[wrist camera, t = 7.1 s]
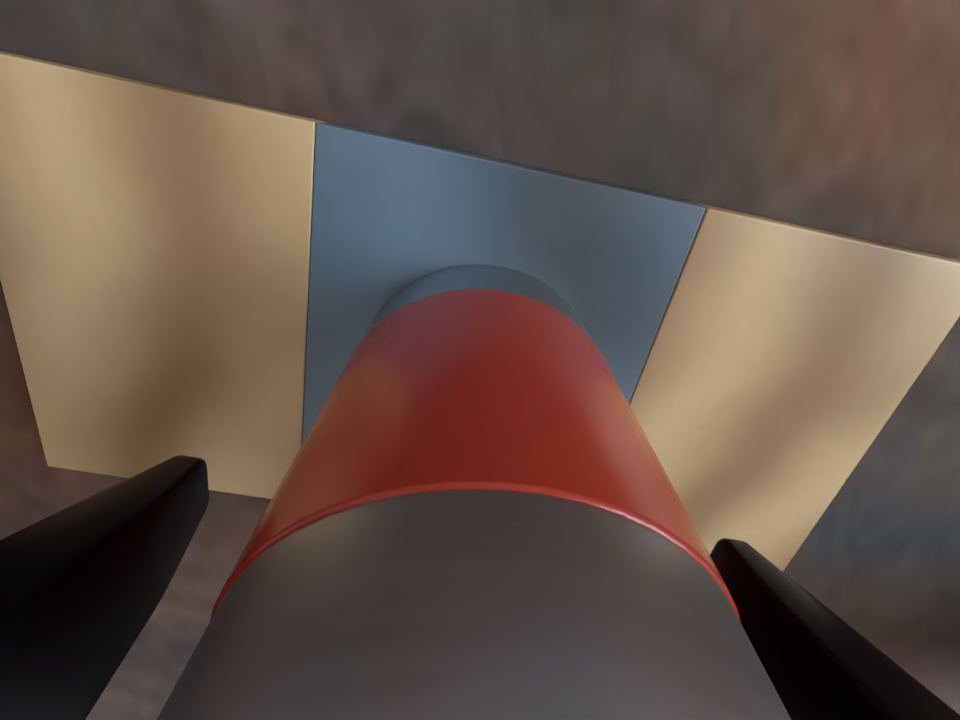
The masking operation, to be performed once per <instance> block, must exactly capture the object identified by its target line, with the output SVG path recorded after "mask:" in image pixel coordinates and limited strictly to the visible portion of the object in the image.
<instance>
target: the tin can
mask: <svg viewBox="0 0 960 720" xmlns="http://www.w3.org/2000/svg"><path fill="white" fill-rule="evenodd" d="M157 720H791V718H790V716H789V714H788V712H787V711H786V709H785V707H784V705H783V703H782V701H781V699H780V697H779V695H778V693H777V692H776V690H775V688H774V686H773V684H772V682H771V680H770V678H769V676H768V674H767V672H766V671H765V669H764V667H763V665H762V663H761V661H760V659H759V657H758V655H757V653H756V652H755V650H754V648H753V646H752V644H751V642H750V640H749V638H748V636H747V634H746V632H745V631H744V629H743V627H742V625H741V621H740V617H739V613H738V609H737V606H736V604H735V602H734V600H733V598H732V596H731V594H730V592H729V590H728V588H727V586H726V584H725V582H724V580H723V579H722V577H721V575H720V573H719V571H718V569H717V567H716V566H715V564H714V562H713V560H712V558H711V556H710V554H709V552H708V551H707V549H706V547H705V545H704V543H703V541H702V539H701V538H700V536H699V534H698V532H697V530H696V528H695V526H694V525H693V523H692V521H691V519H690V517H689V515H688V513H687V511H686V510H685V508H684V506H683V504H682V502H681V500H680V498H679V497H678V495H677V493H676V491H675V489H674V487H673V485H672V484H671V482H670V480H669V478H668V476H667V474H666V472H665V470H664V469H663V467H662V465H661V463H660V461H659V459H658V457H657V456H656V454H655V452H654V450H653V448H652V446H651V444H650V443H649V441H648V439H647V437H646V435H645V433H644V431H643V429H642V428H641V426H640V424H639V422H638V420H637V418H636V416H635V415H634V413H633V411H632V409H631V407H630V405H629V403H628V401H627V400H626V398H625V396H624V394H623V392H622V390H621V388H620V387H619V385H618V383H617V381H616V379H615V377H614V375H613V374H612V372H611V370H610V368H609V366H608V364H607V362H606V360H605V359H604V357H603V355H602V353H601V352H600V350H599V349H598V347H597V346H596V345H595V343H594V342H593V340H592V339H591V337H590V335H589V333H588V331H587V330H586V328H585V326H584V324H583V322H582V320H581V318H580V317H579V316H578V314H577V313H576V311H575V310H574V309H573V307H572V306H571V305H570V304H569V303H568V302H567V301H566V300H565V299H564V298H563V297H562V296H561V295H560V294H558V293H557V292H556V291H555V290H553V289H552V288H551V287H549V286H548V285H546V284H544V283H543V282H541V281H539V280H538V279H536V278H534V277H531V276H529V275H526V274H524V273H522V272H519V271H515V270H511V269H508V268H504V267H497V266H490V265H465V266H457V267H451V268H447V269H443V270H439V271H436V272H433V273H431V274H428V275H426V276H423V277H421V278H419V279H417V280H415V281H414V282H412V283H410V284H408V285H407V286H405V287H404V288H403V289H401V290H400V291H399V292H398V293H396V294H395V295H394V296H393V297H392V298H391V299H390V300H389V301H388V302H387V303H386V304H385V305H384V306H383V307H382V308H381V310H380V311H379V313H378V314H377V315H376V317H375V318H374V320H373V321H372V323H371V325H370V327H369V329H368V331H367V332H366V334H365V336H364V338H363V339H362V341H361V342H360V343H359V345H358V346H357V348H356V349H355V350H354V352H353V353H352V355H351V357H350V359H349V361H348V362H347V364H346V366H345V368H344V370H343V371H342V373H341V375H340V377H339V379H338V381H337V382H336V384H335V386H334V388H333V390H332V391H331V393H330V395H329V397H328V399H327V400H326V402H325V404H324V406H323V408H322V409H321V411H320V413H319V415H318V417H317V418H316V420H315V422H314V424H313V426H312V428H311V429H310V431H309V433H308V435H307V437H306V438H305V440H304V442H303V444H302V446H301V447H300V449H299V451H298V453H297V455H296V456H295V458H294V460H293V462H292V464H291V466H290V467H289V469H288V471H287V473H286V475H285V476H284V478H283V480H282V482H281V484H280V485H279V487H278V489H277V491H276V493H275V494H274V496H273V498H272V500H271V502H270V503H269V505H268V507H267V509H266V511H265V513H264V514H263V516H262V518H261V520H260V522H259V523H258V525H257V527H256V529H255V531H254V532H253V534H252V536H251V538H250V540H249V541H248V543H247V545H246V547H245V549H244V551H243V552H242V554H241V556H240V558H239V560H238V561H237V563H236V565H235V567H234V569H233V570H232V572H231V574H230V576H229V578H228V579H227V581H226V583H225V585H224V587H223V589H222V591H221V593H220V595H219V597H218V599H217V601H216V603H215V605H214V607H213V611H212V615H211V619H210V623H209V624H208V626H207V628H206V630H205V632H204V634H203V636H202V637H201V639H200V641H199V643H198V645H197V647H196V648H195V650H194V652H193V654H192V656H191V658H190V660H189V661H188V663H187V665H186V667H185V669H184V671H183V673H182V674H181V676H180V678H179V680H178V682H177V684H176V685H175V687H174V689H173V691H172V693H171V695H170V697H169V698H168V700H167V702H166V704H165V706H164V708H163V709H162V711H161V713H160V715H159V717H158V719H157Z"/></svg>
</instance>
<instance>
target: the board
mask: <svg viewBox="0 0 960 720" xmlns="http://www.w3.org/2000/svg"><path fill="white" fill-rule="evenodd" d="M465 265H490V266H497V267H504V268H508V269H511V270H515V271H519V272H522V273H524V274H526V275H529V276H531V277H534V278H536V279H538V280H539V281H541V282H543V283H544V284H546V285H548V286H549V287H551V288H552V289H553V290H555V291H556V292H557V293H558V294H560V295H561V296H562V297H563V298H564V299H565V300H566V301H567V302H568V303H569V304H570V305H571V306H572V307H573V309H574V310H575V311H576V313H577V314H578V316H579V317H580V318H581V320H582V322H583V324H584V326H585V328H586V330H587V331H588V333H589V335H590V337H591V339H592V340H593V342H594V343H595V345H596V346H597V347H598V349H599V350H600V352H601V353H602V355H603V357H604V359H605V360H606V362H607V364H608V366H609V368H610V370H611V372H612V374H613V375H614V377H615V379H616V381H617V383H618V385H619V387H620V388H621V390H622V392H623V394H624V396H625V398H626V400H627V401H628V403H629V405H630V407H631V409H632V411H633V413H634V415H635V416H636V418H637V420H638V422H639V424H640V426H641V428H642V429H643V431H644V433H645V435H646V437H647V439H648V441H649V443H650V444H651V446H652V448H653V450H654V452H655V454H656V456H657V457H658V459H659V461H660V463H661V465H662V467H663V469H664V470H665V472H666V474H667V476H668V478H669V480H670V482H671V484H672V485H673V487H674V489H675V491H676V493H677V495H678V497H679V498H680V500H681V502H682V504H683V506H684V508H685V510H686V511H687V513H688V515H689V517H690V519H691V521H692V523H693V525H694V526H695V528H696V530H697V532H698V534H699V536H700V538H701V539H702V541H703V543H704V545H705V547H706V549H707V551H708V552H709V554H710V553H711V551H712V550H713V548H714V546H715V544H716V543H717V542H718V541H719V540H720V539H722V538H729V539H735V540H741V541H744V542H746V543H748V544H749V545H750V546H752V547H753V548H754V549H755V550H757V551H758V552H759V553H760V554H762V555H763V556H764V557H765V558H766V559H768V560H769V561H770V562H771V563H773V564H774V565H775V566H776V567H778V568H779V569H780V570H781V571H782V572H783V571H784V569H785V568H786V566H787V565H788V563H789V562H790V561H791V559H792V558H793V556H794V555H795V553H796V552H797V550H798V549H799V548H800V546H801V545H802V543H803V542H804V540H805V539H806V537H807V536H808V535H809V533H810V532H811V530H812V529H813V527H814V526H815V524H816V523H817V522H818V520H819V519H820V517H821V516H822V514H823V513H824V511H825V510H826V509H827V507H828V506H829V504H830V503H831V501H832V500H833V498H834V497H835V496H836V494H837V493H838V491H839V490H840V488H841V487H842V485H843V484H844V483H845V481H846V480H847V478H848V477H849V475H850V474H851V472H852V471H853V470H854V468H855V467H856V465H857V464H858V462H859V461H860V459H861V458H862V457H863V455H864V454H865V452H866V451H867V449H868V448H869V446H870V445H871V444H872V442H873V441H874V439H875V438H876V436H877V435H878V433H879V432H880V430H881V429H882V428H883V426H884V425H885V423H886V422H887V420H888V419H889V417H890V416H891V415H892V413H893V412H894V410H895V409H896V407H897V406H898V404H899V403H900V402H901V400H902V399H903V397H904V396H905V394H906V393H907V391H908V390H909V389H910V387H911V386H912V384H913V383H914V381H915V380H916V378H917V377H918V376H919V374H920V373H921V371H922V370H923V368H924V367H925V365H926V364H927V363H928V361H929V360H930V358H931V357H932V355H933V354H934V352H935V351H936V350H937V348H938V347H939V345H940V344H941V342H942V341H943V339H944V338H945V337H946V335H947V334H948V332H949V331H950V329H951V328H952V326H953V325H954V324H955V322H956V321H957V319H958V318H959V316H960V260H957V259H952V258H948V257H943V256H939V255H934V254H929V253H925V252H920V251H916V250H911V249H907V248H902V247H897V246H893V245H888V244H884V243H879V242H875V241H870V240H865V239H861V238H856V237H852V236H847V235H842V234H838V233H833V232H829V231H824V230H820V229H815V228H810V227H806V226H801V225H797V224H792V223H788V222H783V221H778V220H774V219H769V218H765V217H760V216H755V215H751V214H746V213H742V212H737V211H733V210H728V209H723V208H719V207H714V206H710V205H705V204H701V203H696V202H690V201H687V200H682V199H678V198H673V197H668V196H664V195H659V194H655V193H650V192H646V191H641V190H636V189H632V188H627V187H623V186H618V185H614V184H609V183H604V182H600V181H595V180H591V179H586V178H581V177H577V176H572V175H568V174H563V173H559V172H554V171H549V170H545V169H540V168H536V167H531V166H527V165H522V164H517V163H513V162H508V161H504V160H499V159H494V158H490V157H485V156H481V155H476V154H472V153H467V152H462V151H458V150H453V149H449V148H444V147H440V146H435V145H430V144H426V143H421V142H417V141H412V140H407V139H403V138H398V137H394V136H389V135H385V134H380V133H375V132H371V131H366V130H362V129H357V128H353V127H348V126H343V125H339V124H334V123H327V122H325V121H321V120H316V119H311V118H307V117H302V116H298V115H293V114H288V113H284V112H279V111H275V110H270V109H266V108H261V107H256V106H252V105H247V104H243V103H238V102H234V101H229V100H224V99H220V98H215V97H211V96H206V95H201V94H197V93H192V92H188V91H183V90H179V89H174V88H169V87H165V86H160V85H156V84H151V83H147V82H142V81H137V80H133V79H128V78H124V77H119V76H114V75H110V74H105V73H101V72H96V71H92V70H87V69H82V68H78V67H73V66H69V65H64V64H60V63H55V62H50V61H46V60H41V59H37V58H32V57H27V56H23V55H18V54H14V53H9V52H5V51H0V281H1V284H2V288H3V292H4V296H5V300H6V304H7V308H8V312H9V316H10V320H11V324H12V328H13V332H14V336H15V340H16V344H17V347H18V351H19V355H20V359H21V363H22V367H23V371H24V375H25V379H26V383H27V387H28V391H29V395H30V399H31V403H32V407H33V410H34V414H35V418H36V422H37V426H38V430H39V434H40V438H41V442H42V446H43V450H44V454H45V458H46V462H47V465H48V466H49V467H56V468H63V469H70V470H76V471H83V472H90V473H97V474H104V475H110V476H117V477H124V478H130V477H132V476H135V475H137V474H139V473H141V472H143V471H145V470H147V469H149V468H151V467H153V466H155V465H157V464H159V463H161V462H164V461H166V460H168V459H170V458H172V457H174V456H177V455H185V456H191V457H198V458H202V459H204V460H205V462H206V464H207V472H208V487H209V490H213V491H219V492H226V493H233V494H240V495H247V496H253V497H260V498H267V499H272V498H273V496H274V494H275V493H276V491H277V489H278V487H279V485H280V484H281V482H282V480H283V478H284V476H285V475H286V473H287V471H288V469H289V467H290V466H291V464H292V462H293V460H294V458H295V456H296V455H297V453H298V451H299V449H300V447H301V446H302V444H303V442H304V440H305V438H306V437H307V435H308V433H309V431H310V429H311V428H312V426H313V424H314V422H315V420H316V418H317V417H318V415H319V413H320V411H321V409H322V408H323V406H324V404H325V402H326V400H327V399H328V397H329V395H330V393H331V391H332V390H333V388H334V386H335V384H336V382H337V381H338V379H339V377H340V375H341V373H342V371H343V370H344V368H345V366H346V364H347V362H348V361H349V359H350V357H351V355H352V353H353V352H354V350H355V349H356V348H357V346H358V345H359V343H360V342H361V341H362V339H363V338H364V336H365V334H366V332H367V331H368V329H369V327H370V325H371V323H372V321H373V320H374V318H375V317H376V315H377V314H378V313H379V311H380V310H381V308H382V307H383V306H384V305H385V304H386V303H387V302H388V301H389V300H390V299H391V298H392V297H393V296H394V295H395V294H396V293H398V292H399V291H400V290H401V289H403V288H404V287H405V286H407V285H408V284H410V283H412V282H414V281H415V280H417V279H419V278H421V277H423V276H426V275H428V274H431V273H433V272H436V271H439V270H443V269H447V268H451V267H457V266H465Z"/></svg>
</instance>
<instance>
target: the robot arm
mask: <svg viewBox="0 0 960 720" xmlns="http://www.w3.org/2000/svg"><path fill="white" fill-rule="evenodd" d="M208 501H209V487H208V472H207V464H206V462H205V460H204V459H202V458H198V457H191V456H185V455H177V456H174V457H172V458H170V459H168V460H166V461H164V462H161V463H159V464H157V465H155V466H153V467H151V468H149V469H147V470H145V471H143V472H141V473H139V474H137V475H135V476H132V477H130V478H128V479H126V480H124V481H122V482H120V483H118V484H116V485H114V486H112V487H110V488H108V489H105V490H103V491H101V492H99V493H97V494H95V495H93V496H91V497H89V498H87V499H85V500H83V501H81V502H78V503H76V504H74V505H72V506H70V507H68V508H66V509H64V510H62V511H60V512H58V513H56V514H54V515H52V516H49V517H47V518H45V519H43V520H41V521H39V522H37V523H35V524H33V525H31V526H29V527H27V528H25V529H22V530H20V531H18V532H16V533H14V534H12V535H10V536H8V537H6V538H4V539H2V540H0V720H85V719H86V717H87V716H88V714H89V713H90V711H91V710H92V708H93V706H94V705H95V703H96V702H97V700H98V699H99V697H100V695H101V694H102V692H103V691H104V689H105V688H106V686H107V684H108V683H109V681H110V680H111V678H112V676H113V675H114V673H115V672H116V670H117V669H118V667H119V665H120V664H121V662H122V661H123V659H124V658H125V656H126V654H127V653H128V651H129V650H130V648H131V646H132V645H133V643H134V642H135V640H136V639H137V637H138V635H139V634H140V632H141V631H142V629H143V628H144V626H145V624H146V623H147V621H148V620H149V618H150V616H151V615H152V613H153V612H154V610H155V608H156V607H157V605H158V603H159V602H160V600H161V598H162V596H163V594H164V592H165V591H166V589H167V587H168V585H169V583H170V581H171V579H172V577H173V575H174V573H175V571H176V569H177V567H178V565H179V563H180V561H181V559H182V557H183V555H184V553H185V551H186V549H187V547H188V545H189V543H190V541H191V539H192V537H193V535H194V533H195V531H196V529H197V527H198V525H199V523H200V521H201V519H202V517H203V515H204V513H205V511H206V508H207V505H208ZM710 556H711V558H712V560H713V562H714V564H715V566H716V567H717V569H718V571H719V573H720V575H721V577H722V579H723V580H724V582H725V584H726V586H727V588H728V590H729V592H730V594H731V596H732V598H733V600H734V602H735V604H736V606H737V609H738V613H739V617H740V621H741V625H742V627H743V629H744V631H745V632H746V634H747V636H748V638H749V640H750V642H751V644H752V646H753V648H754V650H755V652H756V653H757V655H758V657H759V659H760V661H761V663H762V665H763V667H764V669H765V671H766V672H767V674H768V676H769V678H770V680H771V682H772V684H773V686H774V688H775V690H776V692H777V693H778V695H779V697H780V699H781V701H782V703H783V705H784V707H785V709H786V711H787V712H788V714H789V716H790V718H791V720H960V715H959V714H958V713H956V712H955V711H954V710H953V709H951V708H950V707H949V706H948V705H946V704H945V703H944V702H943V701H942V700H940V699H939V698H938V697H937V696H935V695H934V694H933V693H932V692H930V691H929V690H928V689H927V688H926V687H924V686H923V685H922V684H921V683H919V682H918V681H917V680H916V679H914V678H913V677H912V676H911V675H909V674H908V673H907V672H906V671H905V670H903V669H902V668H901V667H900V666H898V665H897V664H896V663H895V662H893V661H892V660H891V659H890V658H889V657H887V656H886V655H885V654H884V653H882V652H881V651H880V650H879V649H877V648H876V647H875V646H874V645H872V644H871V643H870V642H869V641H868V640H866V639H865V638H864V637H863V636H861V635H860V634H859V633H858V632H856V631H855V630H854V629H853V628H852V627H850V626H849V625H848V624H847V623H845V622H844V621H843V620H842V619H840V618H839V617H838V616H837V615H835V614H834V613H833V612H832V611H831V610H829V609H828V608H827V607H826V606H824V605H823V604H822V603H821V602H819V601H818V600H817V599H816V598H815V597H813V596H812V595H811V594H810V593H808V592H807V591H806V590H805V589H803V588H802V587H801V586H800V585H798V584H797V583H796V582H795V581H794V580H792V579H791V578H790V577H789V576H787V575H786V574H785V573H784V572H782V571H781V570H780V569H779V568H778V567H776V566H775V565H774V564H773V563H771V562H770V561H769V560H768V559H766V558H765V557H764V556H763V555H762V554H760V553H759V552H758V551H757V550H755V549H754V548H753V547H752V546H750V545H749V544H748V543H746V542H744V541H741V540H735V539H729V538H722V539H720V540H719V541H718V542H717V543H716V544H715V546H714V548H713V550H712V551H711V553H710Z"/></svg>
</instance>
